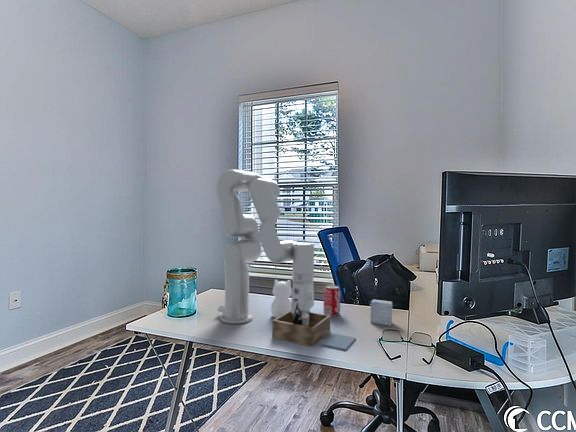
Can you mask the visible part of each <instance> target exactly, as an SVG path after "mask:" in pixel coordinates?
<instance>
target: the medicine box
mask: <svg viewBox="0 0 576 432" xmlns="http://www.w3.org/2000/svg"><path fill="white" fill-rule="evenodd" d="M369 322H370V323H371V324H377V325H383V326H390V327H391V325H392V323H393V301H390V300H389V301H388V300H382V299H381V300H380V299H374V298H373V299H372V300H371V301H370V321H369Z"/></svg>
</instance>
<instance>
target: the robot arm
mask: <svg viewBox="0 0 576 432" xmlns="http://www.w3.org/2000/svg"><path fill="white" fill-rule="evenodd" d="M216 181H217V182H216V186H215V187H216V188H215V189H216V194H217V197H218V202H219V207H220V215H221V216H220V217H221V222H222V228H223V234H225V236H226V237H228V238H232V239H233V238H240V240H239V239H238V240H233V241H231V242H228V243H227V244H226V245H225V246H224V248H223V251H222V257H223V262H224V305H223V304H222V305H219V307H218V309H217V311H218V312H220V313H222V314H221V315H220V321H221V322H223V323H225V324H229V325H230V324H232V325H240V324H245V323H248V322H251V321H252V319H253V314H252V313H250V312H249V303H250V300H249V298H250V295H249V294H250V273H249V269H248V267H247V263H252V262H255V261H257V260H258V259H259V258H260V257H261V255H262V250H263V252H264V254H265V256H266V258H267V259H268V260H269V261H270V262H271V263H273V264H274V263H275V264H280V263H285V262H290V261H292V279H291V281H292V282H291V283H292V287H291V289H292V294H291V300H290V301H291V308H292V310H291V314H292V315H293V324H298V325H302V320H301V318H302V312H305V311H307V310H308V311H307V313H308V314H309V321H310V312H311V308H313V307H314V306H315V290H314V289H315V288H314V269H315V268H314V267H315V266H314V265H315V246H314V244H313V243H311V242H298V241H295V240H281V241H280V238H279V237H278V234H277V231H276V223H277V220H278V219H279V218H280V217H281V215H282V214H281V213H282V211H281V209H280V206H279V203H278V202H277V200H278V198H279V197H280V193H281V190H280V186H279V184H278V183H277V181H275V180H273V179H270V178H267V177H266V176H262V175H260V174H257V173H255V172H251V171H246V170H241V169H236V168H235V169H232V168H231V169H227V170H225V171H223V172H222V173H220V175H219V176H218V179H217V180H216ZM237 192H241V193H248V194H249V197H250V199H251V202H252V204H253V206H254V208H255V211H256V213H257V216H258V218H259V221H260V222H259V225H258V222H257V220H256V219H255V217H254V216H253V215H251V214H247V213H243V208H242V202H241V200H240V198H239V196H238V194H237ZM297 308H298V309H299V310H300V311H299V310H297ZM297 312H300V313H299V315H298V313H297Z"/></svg>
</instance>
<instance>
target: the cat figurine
mask: <svg viewBox="0 0 576 432" xmlns="http://www.w3.org/2000/svg"><path fill="white" fill-rule="evenodd" d="M291 281H292V280H290V279H288V280H287V281H283V280H282V281H279V280H278V279H275V280H274V283H273V284H274V286H273V288H272V295H273V297H274V299H273V300H272V302H271V305H270V311H271V315H272V316H273V317H274V319H276V318H278V317H279V316H281V315H283V314H285V313H287V312H288V311H290V310H292V308H291V300H290V297H292V287H291V285H292V282H291Z"/></svg>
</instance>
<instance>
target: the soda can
mask: <svg viewBox="0 0 576 432" xmlns="http://www.w3.org/2000/svg"><path fill="white" fill-rule="evenodd" d="M340 312H341V289H340V286H339V285H335V284H334V285H333V284H329V285H328V284H327V285H325V288H324V290H323V313H324V315H330V316H331V317H337V316H339V314H340Z"/></svg>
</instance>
